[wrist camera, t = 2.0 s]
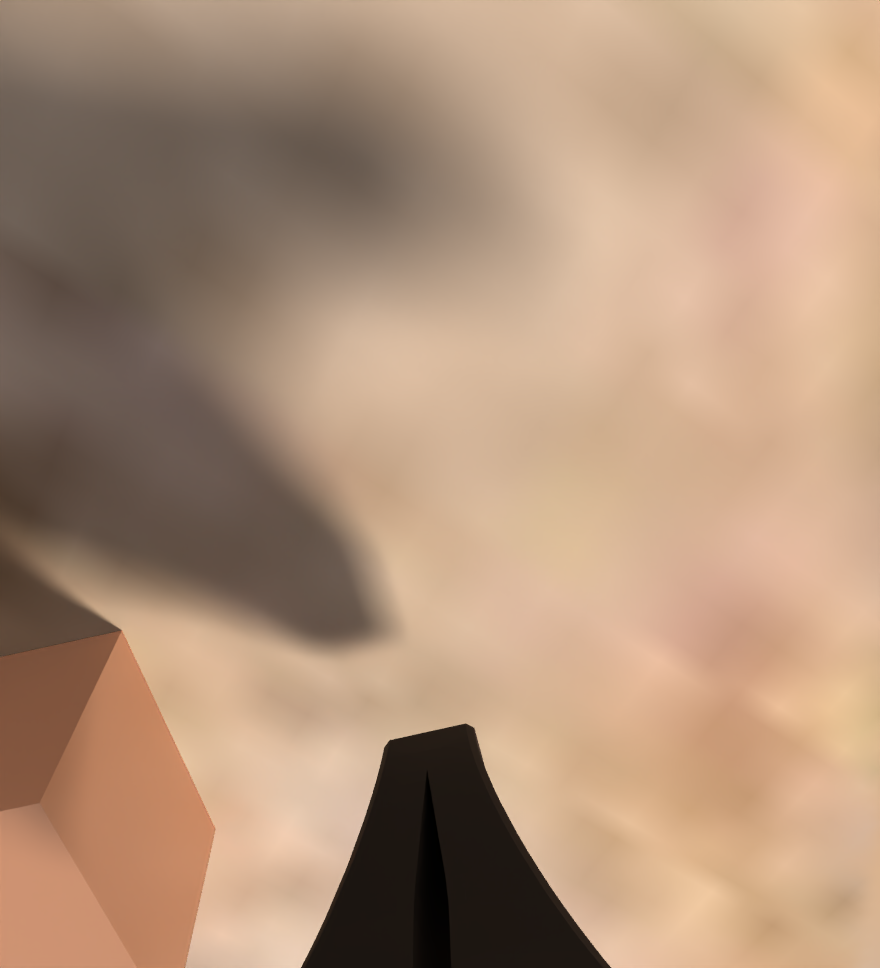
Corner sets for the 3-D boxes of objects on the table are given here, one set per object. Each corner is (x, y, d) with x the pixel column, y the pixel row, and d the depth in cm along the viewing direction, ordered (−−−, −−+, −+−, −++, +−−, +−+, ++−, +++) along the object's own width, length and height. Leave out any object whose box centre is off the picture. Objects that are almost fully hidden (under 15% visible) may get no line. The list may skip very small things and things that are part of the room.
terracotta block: (216, 824, 17) (171, 1026, 13) (-20, 873, 17) (-130, 1087, 13) (124, 626, 14) (39, 802, 11) (-148, 685, 15) (-320, 879, 11)
